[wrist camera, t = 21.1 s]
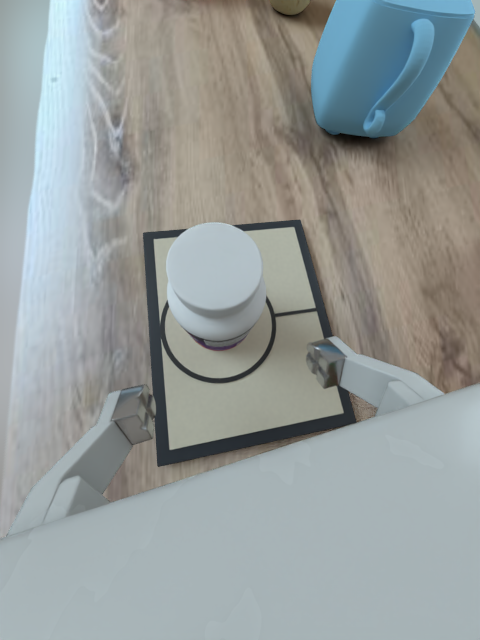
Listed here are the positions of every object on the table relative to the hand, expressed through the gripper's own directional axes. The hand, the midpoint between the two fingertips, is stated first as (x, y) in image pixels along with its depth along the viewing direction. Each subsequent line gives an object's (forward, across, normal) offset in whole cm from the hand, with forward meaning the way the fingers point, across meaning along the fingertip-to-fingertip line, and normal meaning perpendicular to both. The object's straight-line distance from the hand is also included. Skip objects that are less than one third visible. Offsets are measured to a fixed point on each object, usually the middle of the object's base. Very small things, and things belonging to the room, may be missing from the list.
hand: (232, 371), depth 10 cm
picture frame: (+8, -2, +3) cm, 9 cm away
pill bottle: (+8, 0, +2) cm, 8 cm away
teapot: (+27, -24, -16) cm, 39 cm away
